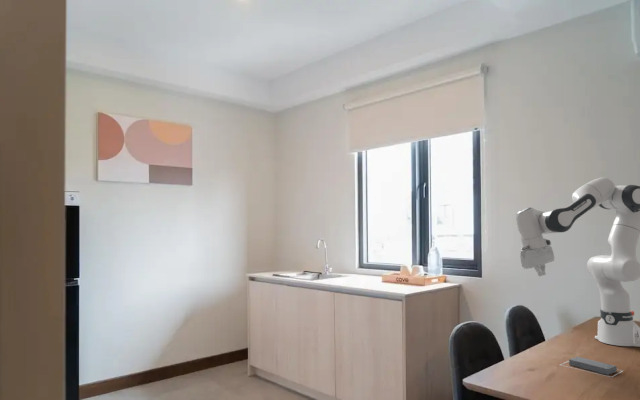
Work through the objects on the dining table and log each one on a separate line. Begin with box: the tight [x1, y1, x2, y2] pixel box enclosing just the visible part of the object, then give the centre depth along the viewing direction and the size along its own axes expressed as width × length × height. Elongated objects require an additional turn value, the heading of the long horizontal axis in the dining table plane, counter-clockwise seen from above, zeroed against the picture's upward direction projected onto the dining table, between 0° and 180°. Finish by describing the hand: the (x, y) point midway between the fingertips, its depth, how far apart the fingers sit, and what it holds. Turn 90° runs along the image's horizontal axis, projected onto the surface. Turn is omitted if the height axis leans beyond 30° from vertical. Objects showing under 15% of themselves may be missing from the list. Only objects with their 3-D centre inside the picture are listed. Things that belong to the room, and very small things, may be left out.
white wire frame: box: [559, 360, 624, 378], centre depth 165 cm, size 11×1×18 cm
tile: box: [568, 356, 618, 376], centre depth 165 cm, size 6×2×14 cm
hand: (542, 275), depth 192 cm, fingers closed
